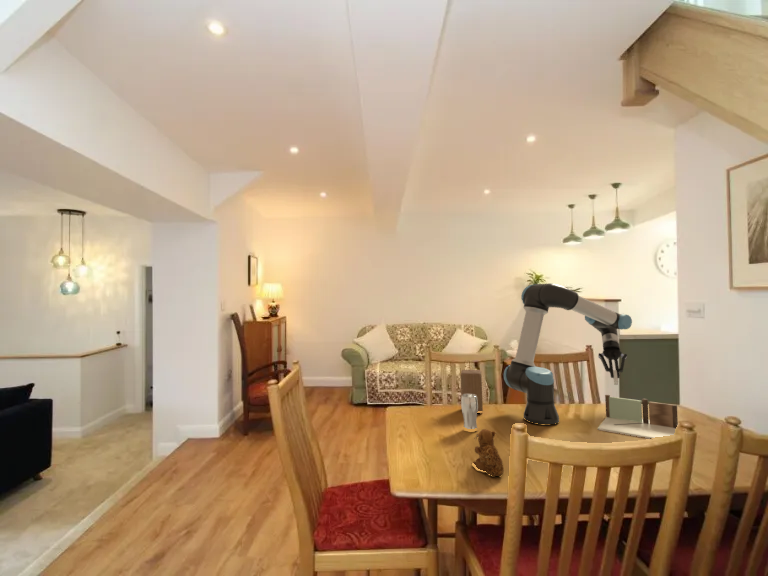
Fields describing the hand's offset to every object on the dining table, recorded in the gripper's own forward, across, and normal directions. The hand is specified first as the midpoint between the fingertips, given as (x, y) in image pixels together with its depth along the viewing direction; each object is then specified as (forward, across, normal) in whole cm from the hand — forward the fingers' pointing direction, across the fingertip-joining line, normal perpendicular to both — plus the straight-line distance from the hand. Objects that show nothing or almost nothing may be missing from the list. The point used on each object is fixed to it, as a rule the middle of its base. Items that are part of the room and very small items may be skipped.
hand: (616, 383), depth 188 cm
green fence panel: (+20, -1, +2) cm, 20 cm away
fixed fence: (+23, -14, +4) cm, 27 cm away
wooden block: (+25, +65, +6) cm, 70 cm away
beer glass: (+45, +60, +26) cm, 79 cm away
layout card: (+26, -6, +7) cm, 27 cm away
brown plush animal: (+71, +46, +52) cm, 99 cm away
